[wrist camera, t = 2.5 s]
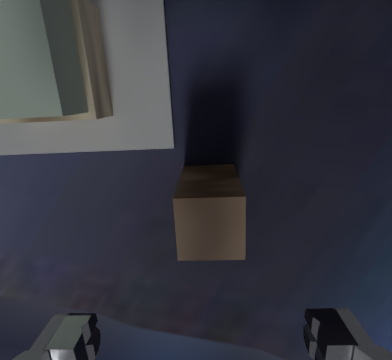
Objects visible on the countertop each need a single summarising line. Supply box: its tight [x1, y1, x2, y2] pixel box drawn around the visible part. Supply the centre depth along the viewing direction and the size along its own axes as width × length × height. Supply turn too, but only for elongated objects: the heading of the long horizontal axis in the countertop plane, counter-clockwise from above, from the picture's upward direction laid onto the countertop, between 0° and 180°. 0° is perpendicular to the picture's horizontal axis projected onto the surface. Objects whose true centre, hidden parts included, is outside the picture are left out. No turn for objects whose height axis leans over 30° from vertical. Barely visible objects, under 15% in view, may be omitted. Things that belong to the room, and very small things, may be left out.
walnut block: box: [173, 164, 246, 261], centre depth 21 cm, size 4×4×8 cm
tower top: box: [0, 0, 89, 119], centre depth 16 cm, size 7×7×4 cm
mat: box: [0, 0, 175, 155], centre depth 21 cm, size 18×14×1 cm
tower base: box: [0, 0, 113, 124], centre depth 20 cm, size 8×8×4 cm
